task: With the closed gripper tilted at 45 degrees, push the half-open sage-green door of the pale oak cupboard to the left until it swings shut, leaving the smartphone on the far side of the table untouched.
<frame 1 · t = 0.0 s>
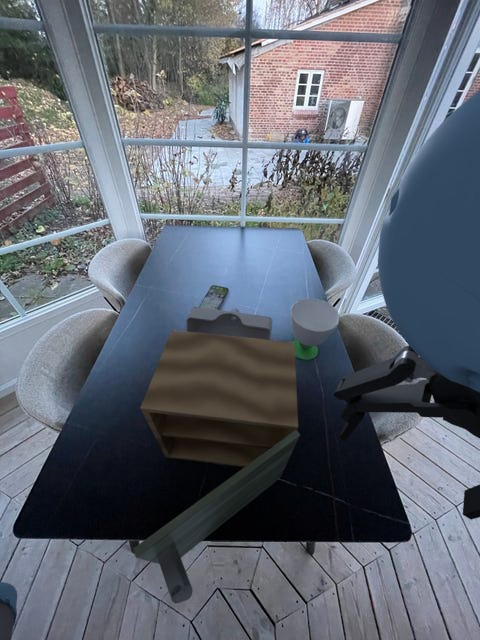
hand: (401, 464, 31), 33 cm above the table, tool pointing down, fingers open, 13 cm apart
smartphone: (214, 300, 102), on the table
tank: (230, 341, 87), on the table
cup: (303, 349, 86), on the table
cupboard door: (238, 520, 44), point 12 cm above the table, hinge at 40.0°
cupboard: (227, 426, 67), on the table
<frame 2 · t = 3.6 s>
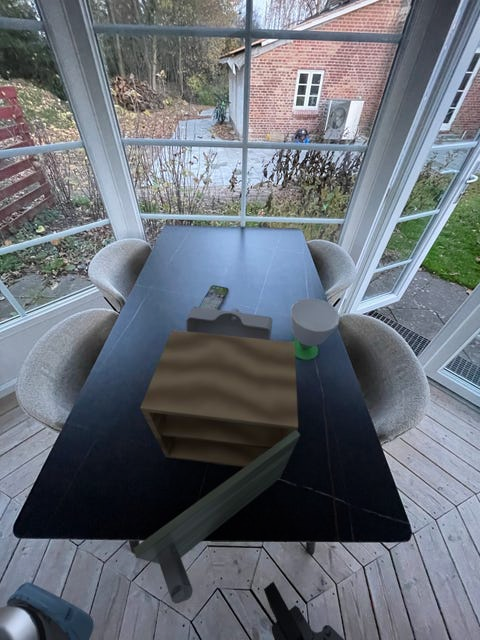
hand: (271, 594, 34), 18 cm above the table, tool tilted 45°, fingers closed
nothing on the table moved.
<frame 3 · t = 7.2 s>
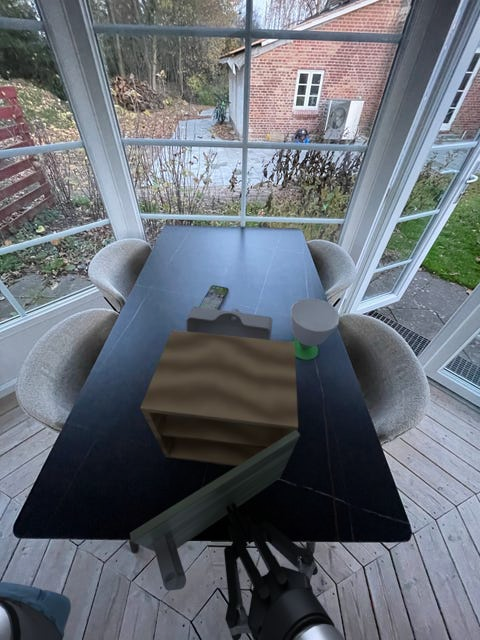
hand: (232, 511, 48), 8 cm above the table, tool tilted 45°, fingers closed
cupboard door: (234, 515, 44), point 12 cm above the table, hinge at 36.3°, touching gripper
everything else where it was.
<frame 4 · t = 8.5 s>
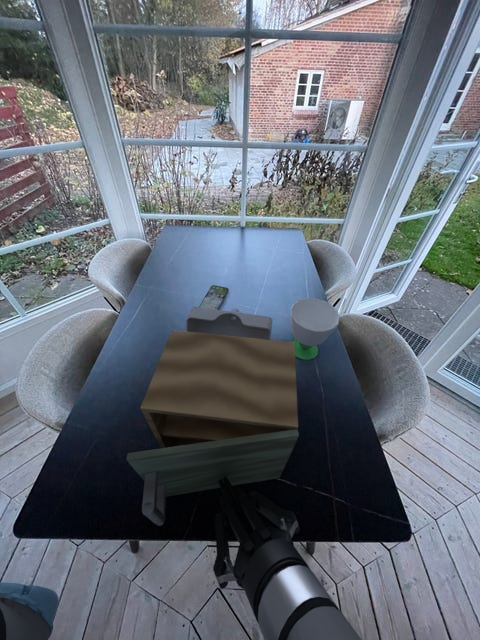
hand: (224, 484, 51), 8 cm above the table, tool tilted 45°, fingers closed
cupboard door: (220, 486, 47), point 12 cm above the table, hinge at 14.8°, touching gripper
everything else where it was.
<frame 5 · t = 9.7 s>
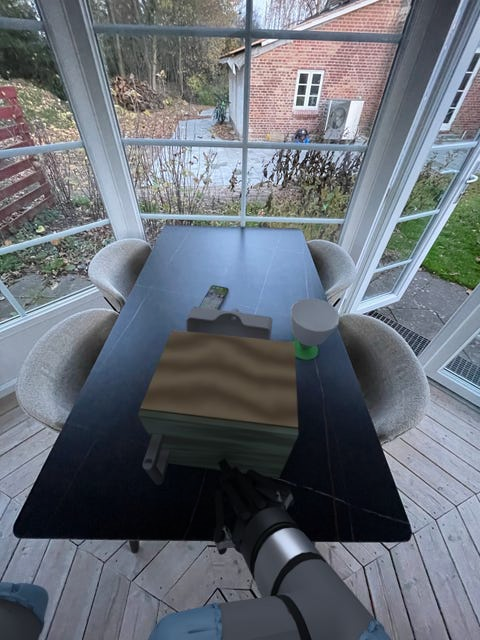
hand: (223, 466, 53), 8 cm above the table, tool tilted 45°, fingers closed
cupboard door: (216, 465, 50), point 12 cm above the table, hinge at -0.1°, touching gripper
everything else where it was.
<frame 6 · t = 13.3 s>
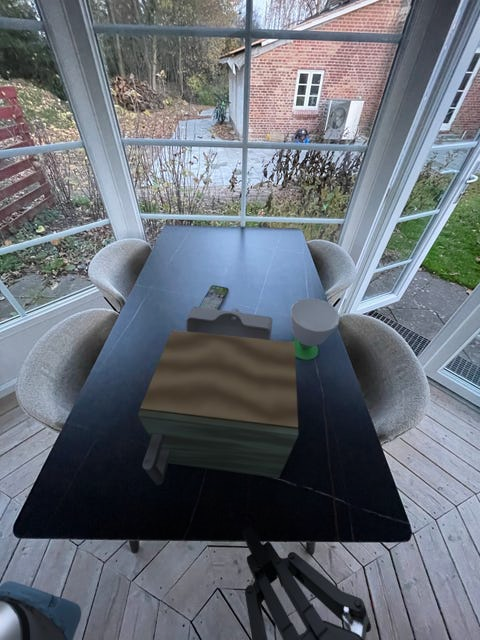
hand: (249, 536, 39), 16 cm above the table, tool tilted 45°, fingers closed
cupboard door: (216, 465, 50), point 12 cm above the table, hinge at -0.1°
everything else where it was.
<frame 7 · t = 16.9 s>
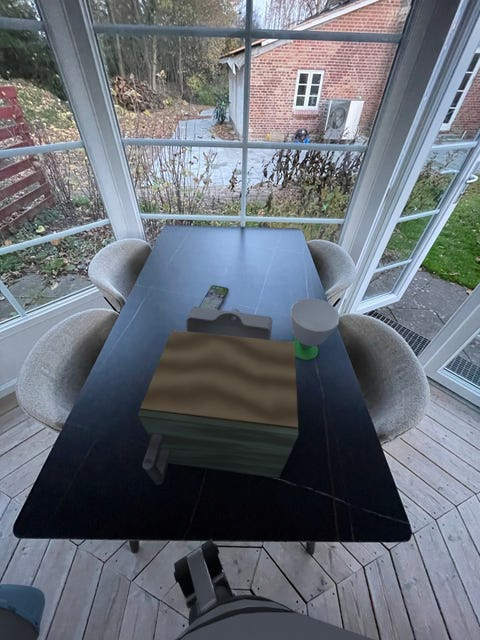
nothing on the table moved.
at the end: cupboard door at +0° (first picture: +40°); smartphone moved 0.2 cm from its start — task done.
